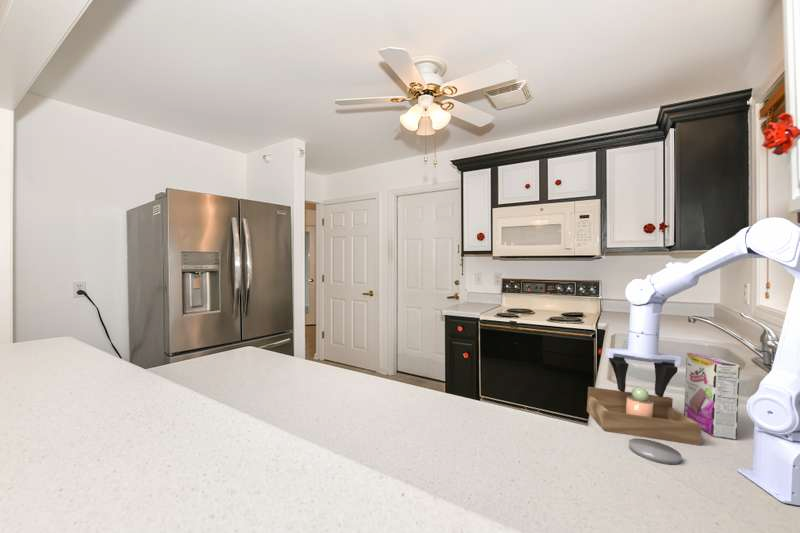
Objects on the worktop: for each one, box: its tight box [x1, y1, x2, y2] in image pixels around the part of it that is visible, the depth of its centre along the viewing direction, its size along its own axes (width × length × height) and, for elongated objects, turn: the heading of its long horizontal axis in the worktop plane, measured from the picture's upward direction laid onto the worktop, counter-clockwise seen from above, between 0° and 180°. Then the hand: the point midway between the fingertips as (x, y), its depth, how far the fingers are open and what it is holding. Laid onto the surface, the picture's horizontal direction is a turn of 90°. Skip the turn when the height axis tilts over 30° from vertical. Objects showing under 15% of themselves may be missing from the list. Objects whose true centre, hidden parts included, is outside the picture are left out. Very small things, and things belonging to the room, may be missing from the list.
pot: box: [626, 386, 653, 417], centre depth 80 cm, size 5×5×9 cm
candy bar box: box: [683, 352, 741, 440], centre depth 83 cm, size 11×5×16 cm, turn 168°
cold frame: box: [586, 386, 703, 447], centre depth 80 cm, size 12×18×6 cm, turn 78°
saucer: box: [628, 437, 682, 466], centre depth 67 cm, size 8×8×1 cm
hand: (639, 393), depth 80 cm, fingers open, 7 cm apart
